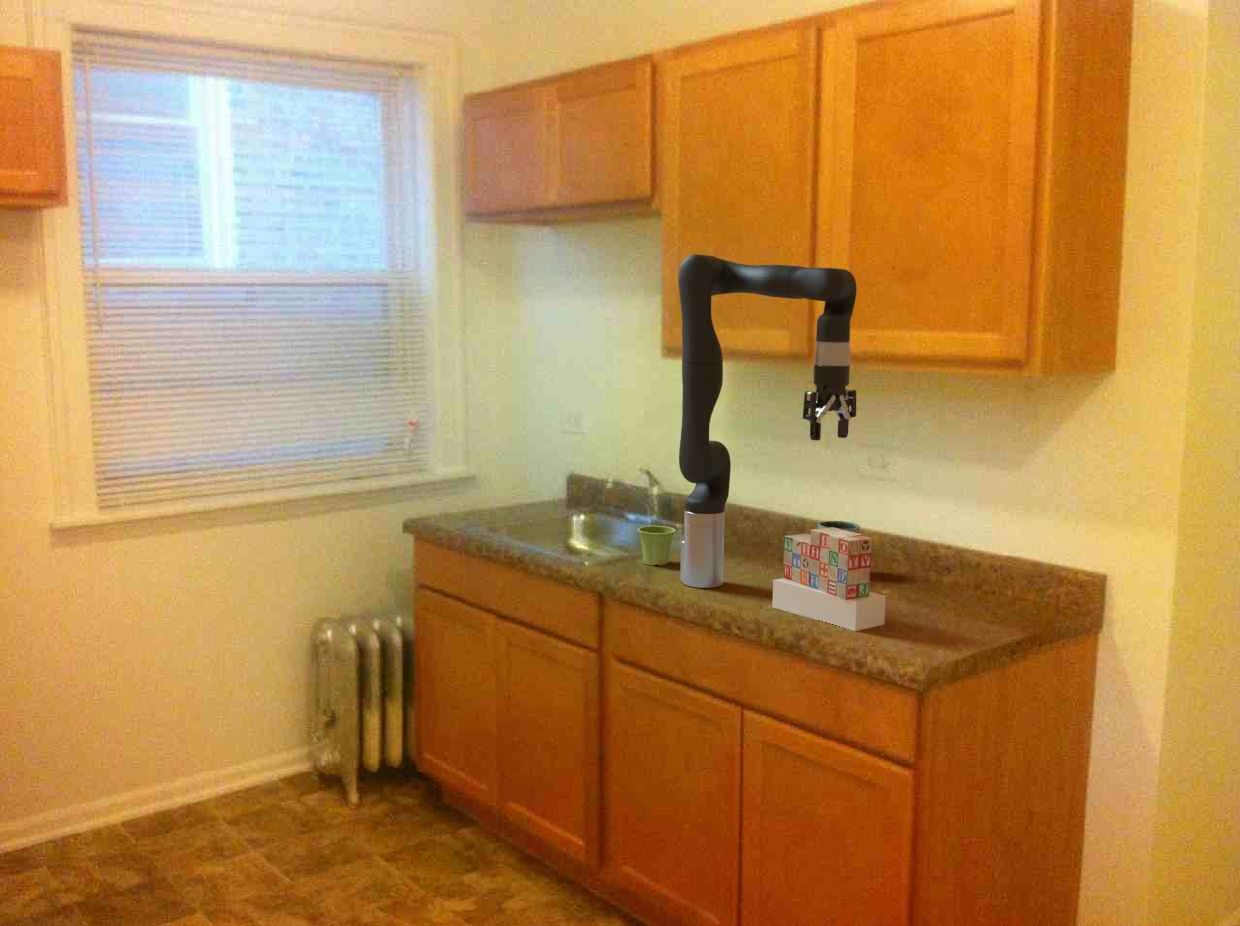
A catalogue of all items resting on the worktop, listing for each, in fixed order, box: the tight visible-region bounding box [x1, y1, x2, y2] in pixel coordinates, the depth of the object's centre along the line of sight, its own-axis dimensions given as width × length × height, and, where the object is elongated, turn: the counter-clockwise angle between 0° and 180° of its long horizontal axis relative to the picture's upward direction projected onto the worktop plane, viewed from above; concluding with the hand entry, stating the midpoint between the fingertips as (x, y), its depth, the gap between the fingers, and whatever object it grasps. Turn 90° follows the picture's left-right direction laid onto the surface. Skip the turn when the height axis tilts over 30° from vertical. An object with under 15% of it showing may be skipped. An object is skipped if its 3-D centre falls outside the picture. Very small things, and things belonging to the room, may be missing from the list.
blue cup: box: [817, 520, 861, 534], centre depth 285 cm, size 10×10×12 cm
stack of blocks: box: [782, 527, 873, 600], centre depth 244 cm, size 21×6×12 cm, turn 29°
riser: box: [772, 577, 886, 632], centre depth 245 cm, size 23×9×6 cm, turn 38°
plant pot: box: [637, 525, 676, 567], centre depth 292 cm, size 9×9×9 cm
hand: (828, 438), depth 251 cm, fingers open, 8 cm apart
